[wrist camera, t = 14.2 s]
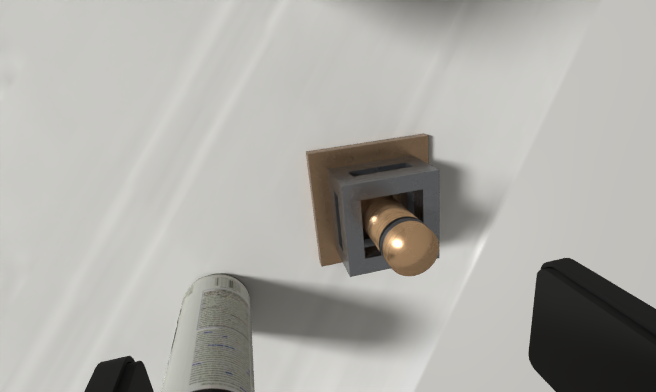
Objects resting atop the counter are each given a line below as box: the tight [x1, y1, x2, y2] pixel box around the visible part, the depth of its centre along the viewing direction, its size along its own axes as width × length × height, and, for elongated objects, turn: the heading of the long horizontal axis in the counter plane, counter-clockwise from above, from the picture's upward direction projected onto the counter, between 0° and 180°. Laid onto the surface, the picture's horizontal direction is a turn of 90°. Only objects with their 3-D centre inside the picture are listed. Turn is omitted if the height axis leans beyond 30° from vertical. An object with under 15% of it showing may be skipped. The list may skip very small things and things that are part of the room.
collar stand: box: [306, 134, 439, 277], centre depth 36 cm, size 12×12×6 cm
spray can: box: [161, 274, 254, 392], centre depth 30 cm, size 7×7×20 cm
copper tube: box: [361, 195, 439, 276], centre depth 33 cm, size 4×4×11 cm
